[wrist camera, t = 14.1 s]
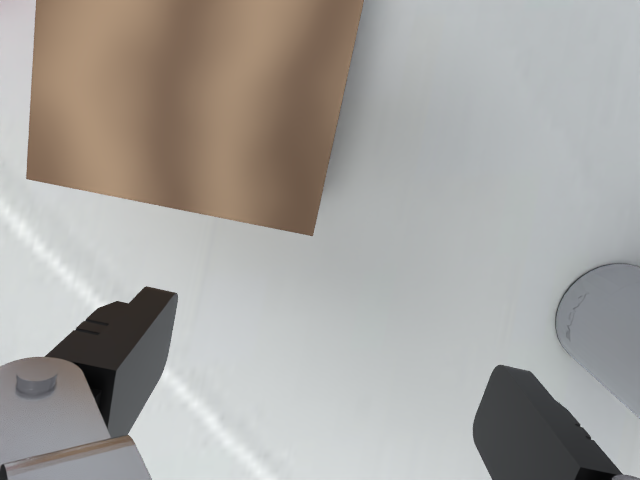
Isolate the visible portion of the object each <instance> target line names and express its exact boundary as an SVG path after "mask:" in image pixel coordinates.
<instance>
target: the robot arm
mask: <svg viewBox="0 0 640 480" xmlns="http://www.w3.org/2000/svg"><path fill="white" fill-rule="evenodd" d="M177 302H178V295H177V293H174V292H169V291H165V290H160V289H156V288H151V287H147V286H146V287H144V288H143V289H142V290H141V291H140V292H139V293H138V294H137V295H136V297H135V298H134V299H133V300H132V301H131V302H130V303H129V304H128V303H123V302H119V301H116V302H113V303H111V304H108V305H105V306H103V307H100V308H98V309H97V310H95V311H94V312H93V313H92V314H91V315H90V316H89V317H88V318H87V319H86V321H83V322H82V323H81V324H80V325H79V326H78V327H77V328H76V330H74V331H72V332H71V333H70V334H69V335H68V336H67V337H66V338H65V339H64V340H63V341H61V342H60V343H59V344H58V345H57V346H56V347H55V348H54V349H53V350H52V351H50V352H49V353H48V354H47V355H46V356H45V357H32V358H25V359H20V360H16V361H13V362H10V363H7V364H5V365H3V366H1V367H0V480H152V478H151V476H150V474H149V472H148V470H147V468H146V466H145V463H144V461H143V459H142V457H141V455H140V453H139V451H138V449H137V447H136V445H135V443H134V441H133V439H132V438H131V437H130V436H129V435H128V433H129V431H130V430H131V428H132V426H133V424H134V423H135V421H136V419H137V417H138V416H139V414H140V412H141V410H142V409H143V407H144V405H145V403H146V402H147V400H148V398H149V397H150V395H151V393H152V391H153V390H154V388H155V386H156V384H157V383H158V381H159V379H160V377H161V375H162V373H163V370H164V367H165V364H166V361H167V357H168V352H169V347H170V341H171V336H172V330H173V325H174V319H175V314H176V308H177ZM556 330H557V335H558V338H559V340H560V342H561V344H562V346H563V348H564V349H565V350H566V351H567V352H568V353H569V354H570V355H571V356H572V357H573V358H574V359H575V360H576V361H577V362H578V363H579V364H580V365H582V366H583V367H584V368H585V369H586V370H587V371H588V372H589V373H590V374H591V375H593V376H594V377H595V378H596V379H597V380H598V381H599V382H600V383H601V384H602V385H603V386H604V387H605V388H607V389H608V390H609V391H610V392H611V393H612V394H613V395H614V396H615V397H616V398H618V399H619V400H620V401H621V402H622V403H623V404H624V405H625V406H626V407H627V408H629V409H630V410H631V411H632V412H633V413H634V414H635V415H636V416H637V417H638V418H640V267H637V266H633V265H629V264H611V265H606V266H602V267H599V268H597V269H594V270H592V271H590V272H588V273H587V274H585V275H584V276H582V277H581V278H579V279H578V280H577V281H576V282H575V283H574V284H573V285H572V286H571V287H570V288H569V290H568V291H567V292H566V294H565V295H564V297H563V299H562V301H561V303H560V305H559V308H558V312H557V316H556ZM473 438H474V442H475V445H476V447H477V449H478V451H479V453H480V455H481V457H482V459H483V462H484V464H485V466H486V468H487V470H488V472H489V474H490V476H491V478H492V480H640V478H637V477H634V476H629V475H623V474H622V473H621V472H620V471H619V469H618V468H617V467H616V466H615V465H614V464H613V462H612V461H611V460H610V459H609V458H608V457H607V455H606V454H605V453H604V452H603V451H602V449H601V448H600V447H599V446H598V445H597V444H596V442H595V441H594V440H591V437H590V435H589V434H588V433H587V432H586V431H585V430H584V428H582V427H580V424H579V423H578V421H577V420H576V419H575V418H574V417H573V416H572V414H571V413H570V412H569V411H568V410H567V409H566V408H565V407H563V406H562V405H561V404H559V403H558V402H557V401H556V400H554V398H553V397H552V396H551V395H550V394H549V392H548V391H547V390H546V389H545V388H544V387H543V385H542V384H541V383H540V382H539V381H538V379H537V378H536V377H535V376H534V375H533V374H532V373H531V372H530V371H526V370H522V369H517V368H513V367H508V366H503V365H498V366H497V367H495V369H494V370H493V372H492V374H491V376H490V379H489V382H488V384H487V387H486V389H485V392H484V395H483V397H482V400H481V402H480V405H479V408H478V410H477V413H476V416H475V419H474V423H473Z"/></svg>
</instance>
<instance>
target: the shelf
mask: <svg viewBox="0 0 640 480" xmlns="http://www.w3.org/2000/svg"><path fill="white" fill-rule="evenodd" d="M363 2H364V0H36V14H35V32H34V49H33V67H32V85H31V103H30V121H29V139H28V157H27V175H26V179H29V180H34V181H39V182H44V183H49V184H54V185H59V186H64V187H69V188H74V189H79V190H84V191H89V192H94V193H99V194H104V195H109V196H114V197H119V198H124V199H129V200H134V201H139V202H144V203H149V204H154V205H159V206H164V207H169V208H174V209H179V210H184V211H189V212H194V213H199V214H204V215H209V216H214V217H219V218H224V219H229V220H234V221H239V222H244V223H249V224H254V225H259V226H265V227H270V228H275V229H280V230H285V231H290V232H295V233H300V234H305V235H310V236H313V233H314V228H315V224H316V219H317V214H318V210H319V205H320V201H321V196H322V191H323V187H324V182H325V178H326V173H327V168H328V164H329V159H330V154H331V150H332V145H333V141H334V136H335V131H336V127H337V122H338V118H339V113H340V108H341V104H342V99H343V94H344V90H345V85H346V81H347V76H348V71H349V67H350V62H351V57H352V53H353V48H354V44H355V39H356V34H357V30H358V25H359V21H360V16H361V11H362V7H363Z"/></svg>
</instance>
